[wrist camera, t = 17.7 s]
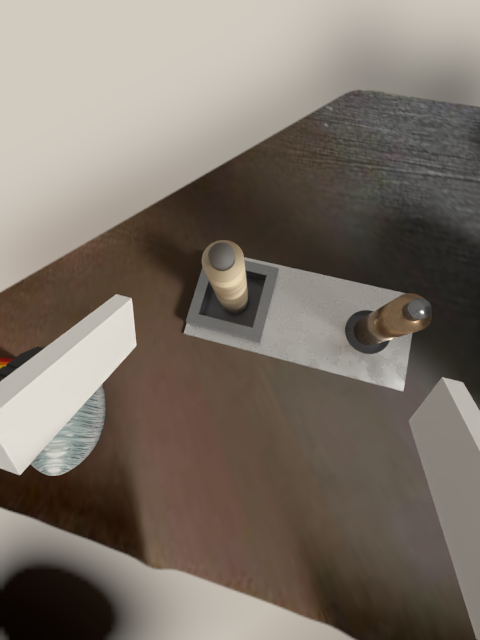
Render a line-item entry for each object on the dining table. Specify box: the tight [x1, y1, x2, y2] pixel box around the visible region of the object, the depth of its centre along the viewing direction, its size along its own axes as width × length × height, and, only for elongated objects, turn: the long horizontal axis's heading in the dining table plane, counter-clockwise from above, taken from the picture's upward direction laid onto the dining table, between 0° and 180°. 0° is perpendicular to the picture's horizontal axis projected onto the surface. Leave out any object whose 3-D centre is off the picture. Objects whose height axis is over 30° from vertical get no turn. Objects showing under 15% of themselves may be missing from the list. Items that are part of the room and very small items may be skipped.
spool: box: [31, 385, 106, 476], centre depth 38 cm, size 14×10×10 cm
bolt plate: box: [184, 257, 433, 391], centre depth 35 cm, size 32×14×14 cm, turn 75°
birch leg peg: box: [202, 240, 249, 313], centre depth 35 cm, size 4×4×15 cm
